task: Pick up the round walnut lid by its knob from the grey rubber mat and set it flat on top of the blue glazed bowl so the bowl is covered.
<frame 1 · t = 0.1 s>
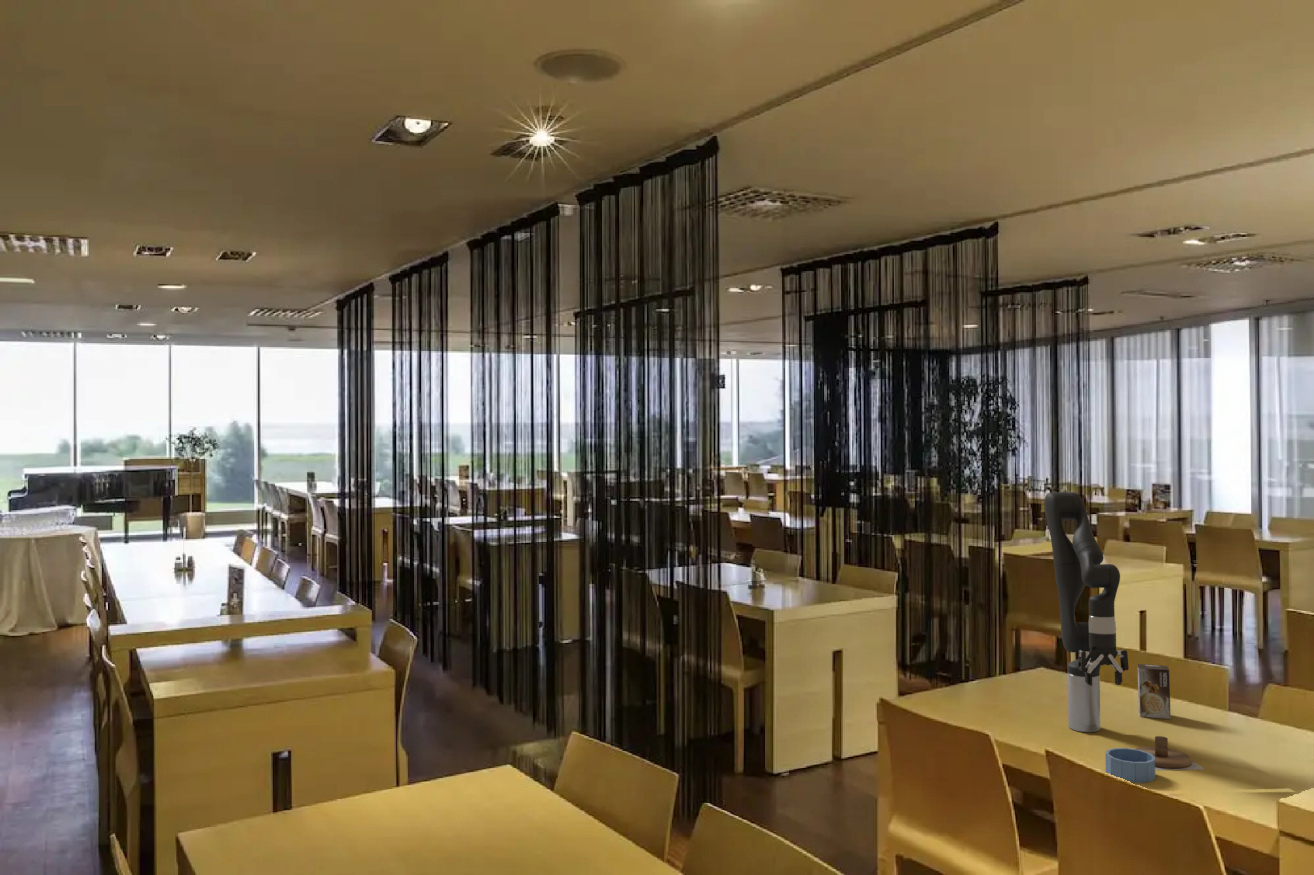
hand: (1103, 684, 299), 17 cm above the table, tool pointing down, fingers open, 8 cm apart
mat: (1161, 762, 280), on the table
coffee box: (1154, 716, 324), on the table
lid: (1161, 759, 280), point 1 cm above the table, touching mat
bowl: (1130, 777, 269), on the table
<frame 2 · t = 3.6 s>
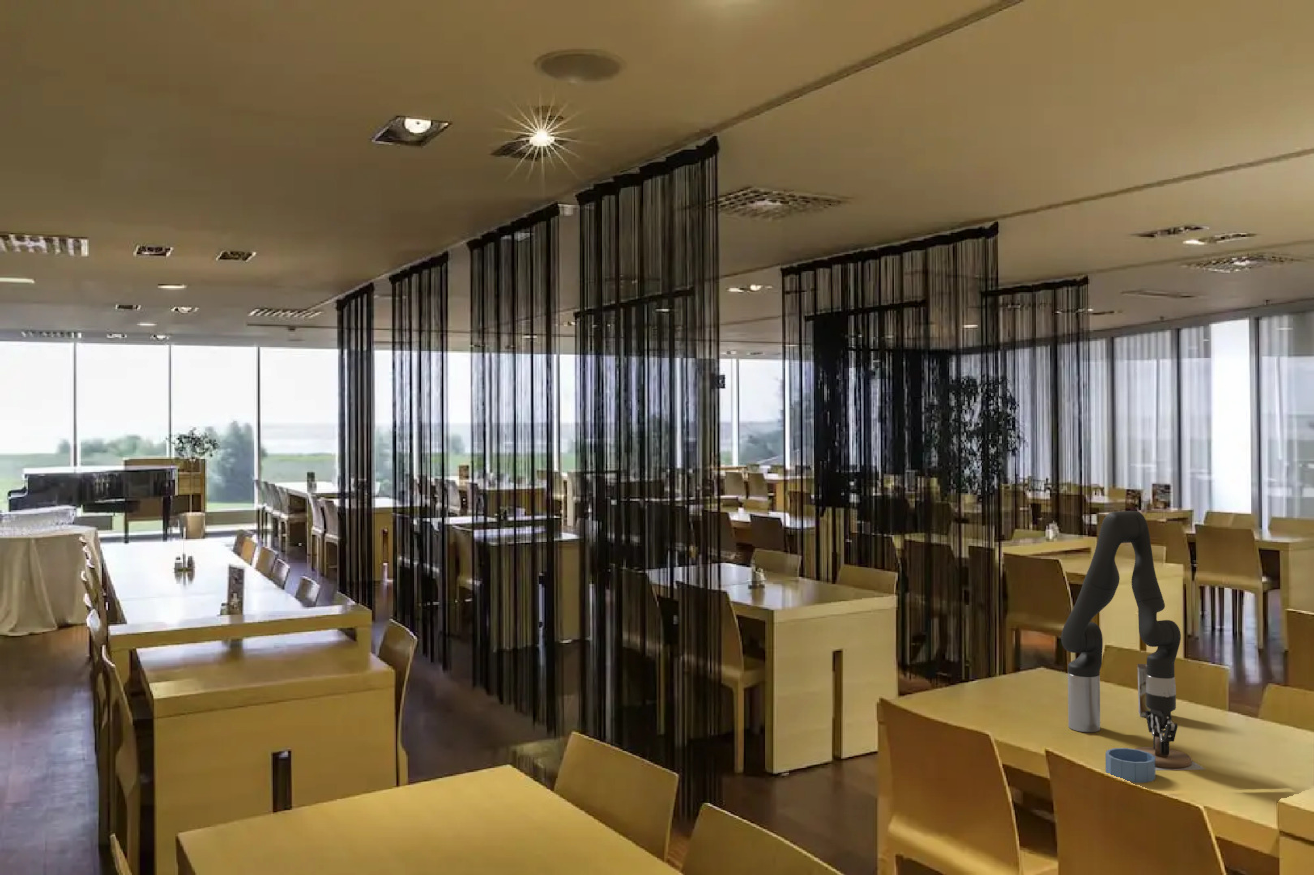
hand: (1161, 752, 280), 3 cm above the table, tool pointing down, fingers closed on lid, 3 cm apart
lid: (1161, 759, 280), point 1 cm above the table, touching gripper, mat
everything else where it was.
when the fingers open (10 cm above the table, at t = 8.9 s): lid drops 1 cm, resting on bowl.
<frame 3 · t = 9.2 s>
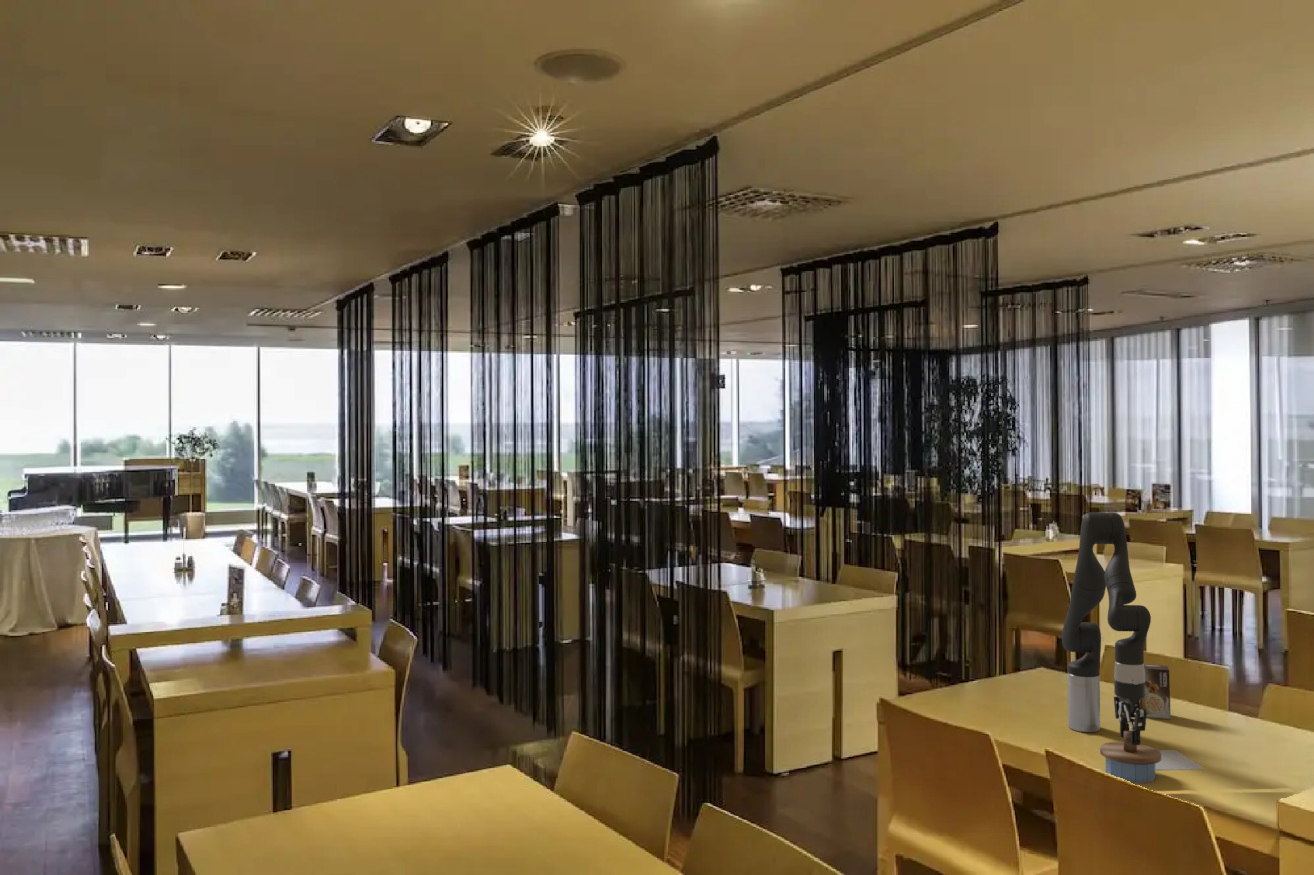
hand: (1130, 740, 269), 10 cm above the table, tool pointing down, fingers open, 5 cm apart
lid: (1130, 755, 269), point 6 cm above the table, touching bowl
everything else where it was.
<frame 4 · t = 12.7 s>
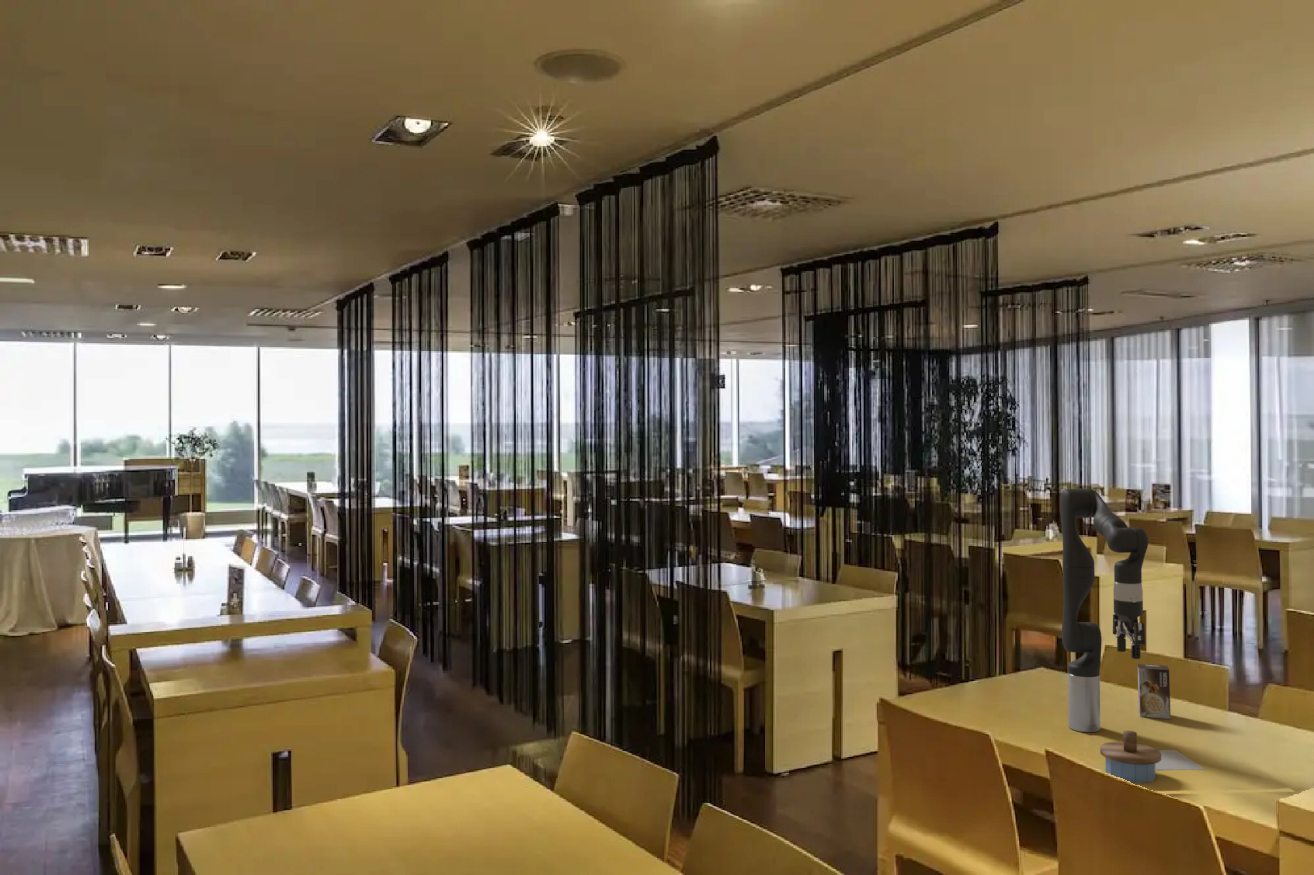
hand: (1128, 655, 282), 30 cm above the table, tool pointing down, fingers open, 8 cm apart
nothing on the table moved.
at the end: lid 0.1 cm off-centre on the bowl, point 6.0 cm above the bowl's base; lid tilted 0°; the gripper is holding nothing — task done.
